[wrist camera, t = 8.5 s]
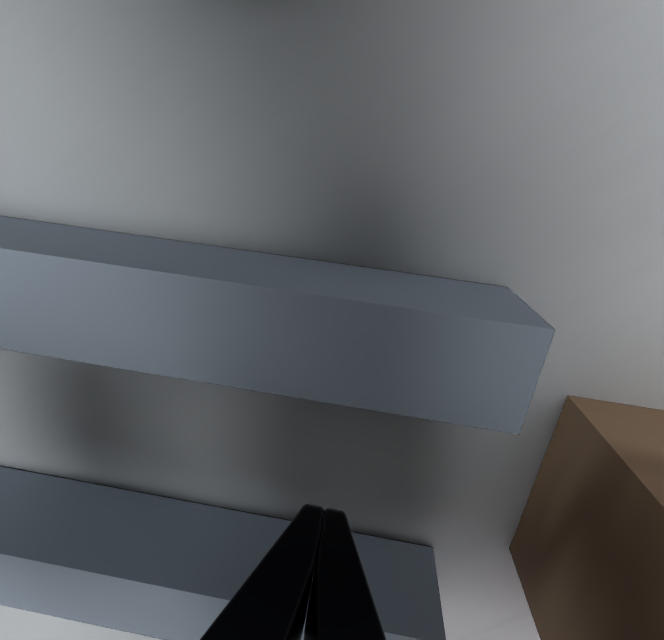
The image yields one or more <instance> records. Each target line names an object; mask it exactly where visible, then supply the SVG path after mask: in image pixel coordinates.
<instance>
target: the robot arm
mask: <svg viewBox="0 0 664 640" xmlns="http://www.w3.org/2000/svg"><path fill="white" fill-rule="evenodd" d="M323 515H324V516H323ZM322 521H323V522H322ZM321 527H322V528H321ZM313 573H314V574H313ZM312 579H313V580H312ZM311 585H312V586H311ZM310 590H311V591H310ZM309 596H310V597H309ZM308 602H309V603H308ZM307 607H308V609H307ZM306 613H307V615H306ZM305 619H306V622H305ZM304 624H305V628H304ZM303 629H304V638H303V640H386V637H385V634H384V631H383V628H382V625H381V622H380V619H379V615H378V612H377V609H376V606H375V603H374V600H373V597H372V594H371V591H370V588H369V585H368V582H367V579H366V575H365V572H364V569H363V566H362V563H361V560H360V557H359V554H358V551H357V548H356V545H355V542H354V539H353V535H352V532H351V529H350V526H349V523H348V520H347V517H346V515H345V513H344V512H343V511H340V510H335V509H330V508H327V509H325V511H324V508H323V507H320V506H315V505H310V504H305V505H304V506H303V507H302V508H301V510H300V511H299V512H298V513H297V515H296V516H295V517H294V519H293V520H292V521H291V522H290V524H289V525H288V526H287V528H286V529H285V530H284V531H283V533H282V534H281V535H280V537H279V538H278V539H277V540H276V542H275V543H274V544H273V546H272V547H271V548H270V550H269V551H268V552H267V553H266V555H265V556H264V557H263V559H262V560H261V561H260V562H259V564H258V565H257V566H256V568H255V569H254V570H253V571H252V573H251V574H250V575H249V577H248V578H247V579H246V580H245V582H244V583H243V584H242V586H241V587H240V588H239V590H238V591H237V592H236V593H235V595H234V596H233V597H232V599H231V600H230V601H229V602H228V604H227V605H226V606H225V608H224V609H223V610H222V611H221V613H220V614H219V615H218V617H217V618H216V619H215V620H214V622H213V623H212V624H211V626H210V627H209V628H208V629H207V631H206V632H205V633H204V635H203V636H202V637H201V639H200V640H301V637H302V633H303Z"/></svg>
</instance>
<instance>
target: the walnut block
mask: <svg viewBox="0 0 664 640" xmlns="http://www.w3.org/2000/svg"><path fill="white" fill-rule="evenodd" d="M509 550H510V553H511V555H512V558H513V561H514V564H515V567H516V570H517V573H518V576H519V579H520V581H521V584H522V587H523V590H524V593H525V596H526V599H527V602H528V605H529V607H530V610H531V613H532V616H533V619H534V622H535V625H536V628H537V631H538V633H539V636H540V639H541V640H664V410H657V409H651V408H645V407H638V406H632V405H626V404H619V403H613V402H607V401H600V400H594V399H588V398H581V397H575V396H569V395H568V396H567V399H566V401H565V404H564V406H563V409H562V412H561V414H560V417H559V420H558V422H557V425H556V427H555V430H554V433H553V435H552V438H551V440H550V443H549V446H548V448H547V451H546V454H545V456H544V459H543V461H542V464H541V467H540V469H539V472H538V474H537V477H536V480H535V482H534V485H533V487H532V490H531V493H530V495H529V498H528V501H527V503H526V506H525V508H524V511H523V514H522V516H521V519H520V521H519V524H518V527H517V529H516V532H515V535H514V537H513V540H512V542H511V545H510V548H509Z"/></svg>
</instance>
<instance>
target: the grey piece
mask: <svg viewBox="0 0 664 640" xmlns="http://www.w3.org/2000/svg"><path fill="white" fill-rule="evenodd" d="M554 332H555V329H554V328H553V327H552V326H551V325H550V324H548V323H547V322H546V321H545V320H544V319H543V318H542V317H540V316H539V315H538V314H537V313H536V312H535V311H534V310H533V309H531V308H530V307H529V306H528V305H527V304H526V303H525V302H524V301H522V300H521V299H520V298H519V297H518V296H517V295H516V294H515V293H513V292H512V291H511V290H510V289H509V288H508V287H502V286H494V285H487V284H480V283H473V282H466V281H459V280H452V279H445V278H438V277H430V276H423V275H416V274H409V273H402V272H395V271H388V270H381V269H374V268H367V267H359V266H352V265H345V264H338V263H331V262H324V261H317V260H310V259H303V258H295V257H288V256H281V255H274V254H267V253H260V252H253V251H246V250H239V249H232V248H224V247H217V246H210V245H203V244H196V243H189V242H182V241H175V240H168V239H160V238H153V237H146V236H139V235H132V234H125V233H118V232H111V231H104V230H97V229H89V228H82V227H75V226H68V225H61V224H54V223H47V222H40V221H33V220H25V219H18V218H11V217H4V216H0V349H4V350H11V351H17V352H23V353H29V354H35V355H41V356H47V357H53V358H59V359H65V360H71V361H77V362H83V363H89V364H95V365H101V366H107V367H113V368H119V369H125V370H131V371H137V372H143V373H149V374H155V375H161V376H167V377H174V378H180V379H186V380H192V381H198V382H204V383H210V384H216V385H222V386H228V387H234V388H240V389H246V390H252V391H258V392H264V393H270V394H276V395H282V396H288V397H294V398H300V399H306V400H312V401H318V402H324V403H330V404H337V405H343V406H349V407H355V408H361V409H367V410H373V411H379V412H385V413H391V414H397V415H403V416H409V417H415V418H421V419H427V420H433V421H439V422H445V423H451V424H457V425H463V426H469V427H475V428H481V429H487V430H493V431H500V432H506V433H512V434H518V435H519V434H520V431H521V428H522V425H523V422H524V419H525V416H526V413H527V410H528V408H529V405H530V402H531V399H532V396H533V393H534V390H535V387H536V384H537V382H538V379H539V376H540V373H541V370H542V367H543V364H544V361H545V358H546V355H547V353H548V350H549V347H550V344H551V341H552V338H553V335H554ZM290 522H291V521H288V520H283V519H277V518H272V517H267V516H261V515H256V514H251V513H246V512H240V511H235V510H230V509H224V508H219V507H214V506H208V505H203V504H198V503H192V502H187V501H182V500H176V499H171V498H166V497H160V496H155V495H150V494H144V493H139V492H134V491H128V490H123V489H118V488H112V487H107V486H102V485H96V484H91V483H86V482H80V481H75V480H70V479H64V478H59V477H54V476H48V475H43V474H38V473H32V472H27V471H22V470H16V469H11V468H6V467H0V605H3V606H8V607H13V608H18V609H22V610H27V611H32V612H36V613H41V614H46V615H50V616H55V617H60V618H64V619H69V620H74V621H78V622H83V623H88V624H92V625H97V626H102V627H106V628H111V629H116V630H121V631H125V632H130V633H135V634H139V635H144V636H149V637H153V638H158V639H163V640H200V639H201V637H202V636H203V635H204V633H205V632H206V631H207V629H208V628H209V627H210V626H211V624H212V623H213V622H214V620H215V619H216V618H217V617H218V615H219V614H220V613H221V611H222V610H223V609H224V608H225V606H226V605H227V604H228V602H229V601H230V600H231V599H232V597H233V596H234V595H235V593H236V592H237V591H238V590H239V588H240V587H241V586H242V584H243V583H244V582H245V580H246V579H247V578H248V577H249V575H250V574H251V573H252V571H253V570H254V569H255V568H256V566H257V565H258V564H259V562H260V561H261V560H262V559H263V557H264V556H265V555H266V553H267V552H268V551H269V550H270V548H271V547H272V546H273V544H274V543H275V542H276V540H277V539H278V538H279V537H280V535H281V534H282V533H283V531H284V530H285V529H286V528H287V526H288V525H289V524H290ZM321 528H322V527H321ZM352 535H353V539H354V542H355V545H356V548H357V551H358V554H359V557H360V560H361V563H362V566H363V569H364V572H365V575H366V579H367V582H368V585H369V588H370V591H371V594H372V597H373V600H374V603H375V606H376V609H377V612H378V615H379V619H380V622H381V625H382V628H383V631H384V634H385V637H386V640H446V637H445V630H444V623H443V616H442V609H441V601H440V594H439V587H438V580H437V573H436V566H435V558H434V551H433V548H432V547H427V546H421V545H416V544H411V543H405V542H400V541H395V540H389V539H384V538H379V537H373V536H368V535H363V534H357V533H352ZM313 574H314V573H313ZM312 580H313V579H312ZM311 586H312V585H311ZM310 591H311V590H310ZM309 597H310V596H309ZM308 603H309V602H308ZM307 609H308V607H307ZM306 615H307V613H306ZM305 622H306V619H305ZM304 628H305V624H304ZM303 638H304V629H303V633H302V637H301V640H303Z"/></svg>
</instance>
